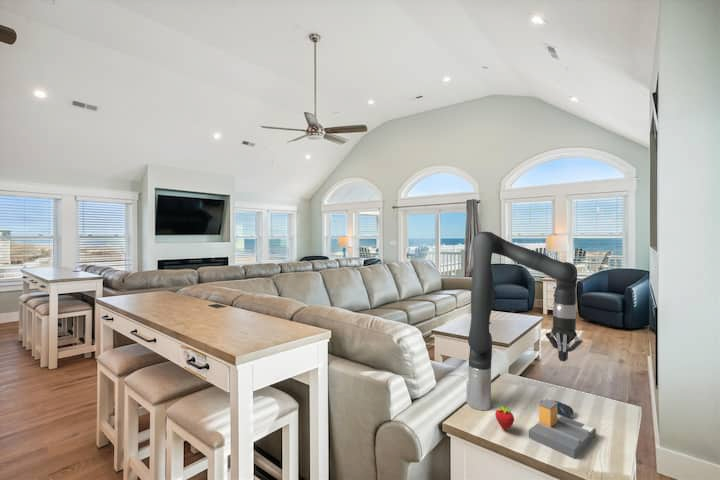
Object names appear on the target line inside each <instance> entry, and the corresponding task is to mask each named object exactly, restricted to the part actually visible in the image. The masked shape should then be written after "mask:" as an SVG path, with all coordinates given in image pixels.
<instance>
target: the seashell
mask: <svg viewBox="0 0 720 480" xmlns="http://www.w3.org/2000/svg"><path fill="white" fill-rule="evenodd" d="M544 400H545V399H543V400H540V403H541V402H542V401H544ZM553 401H554V402H556V403H558V405H557V414H559V415H561V416H564V417H567V418H569V419H570V418H572V417H573V416H574V409H573V408H572V407H571V406H570V405H568V404H566V403H563V402H561V401H556V400H553Z"/></svg>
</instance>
